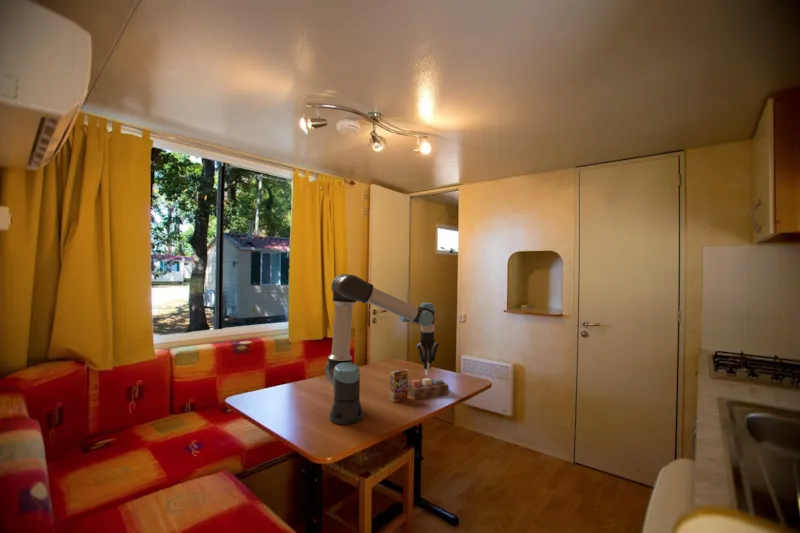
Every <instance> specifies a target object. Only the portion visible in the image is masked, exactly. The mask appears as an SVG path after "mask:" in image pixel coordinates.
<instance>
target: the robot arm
mask: <svg viewBox="0 0 800 533" xmlns="http://www.w3.org/2000/svg"><path fill="white" fill-rule="evenodd" d="M331 292H332V303H334V319H333V320H334V321H333V332H332V333H333V334H332V342H331V343H332V345H331V353H330V354H329V356H327V357H328V358H327V363H326V364H325V368H324V372H325V377H326V379H327V380H328V382H329V383H330V384H331V385H332V386H333V402H332V405H331V408H330V411H329V421H330V422H331V423H334V424H336V425H353V424H356V423H359V422H360V421H362V420H363V418H364V409H363V406H362V403H361V400H360V397H361V396H360V395H361V394H360V393H361V392H360V390H361V370H360V366H359V365H357V364H356V363H353V356H352V355H351V354H350V352H351V351H350V350H351V335H352V323H353V311H354V310H353V309H354V306H355V304H357V302H360V303H362V304H365V305H366V304H370V305H372V306H375V307H377V308H380V309H381V310H385V311H387V312H389V313H391V314H394V315H396V316H399V318H400V321H401V322H403V323H410V322H411V323H414V324H417V325H419V326H420V341H419V343H417V344H416V345H415V346H416V348H417V351H418V356H419V360H420V362H421V363H423V369H424V374H425V375H426V376H430V375H431V374H430V373H431V372H430V371H431V370H430V369H432V363H433V362H435V359H436V356H437V350H438V347H439V343H438V342H436V340H435V332H434V331H435V304H434V303H432V302H422V303H420V305H419V306H415V305H413V304H411V303H409V302H407V301H404V300H403V299H401V298H397V297H396V296H393V295H391V294H389V293H387V292H384V291H382V290H380V289H378V288H376V287H375V286H374V284H372V283H370V282H368V281H366V280H364V279H362V278H361V277H359V276H357V275H355V274H348V273H342V274H338V275H337V276H335V278H334V279H333V280H332V283H331Z"/></svg>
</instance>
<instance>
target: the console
mask: <svg viewBox="0 0 800 533" xmlns="http://www.w3.org/2000/svg"><path fill="white" fill-rule="evenodd" d="M433 379H434V378H433ZM433 379H431V380H432V385H428V386H424V385H423V384H422V380H420V381H421V386H420V387H413V386H411V381H408V395H409V396H410V397H411V398H412V399H414V400H418V399H427V398H435V397H440V396H447V395H449V385H448V383H445V382H444V381H443V384H434V383H433Z"/></svg>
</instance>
